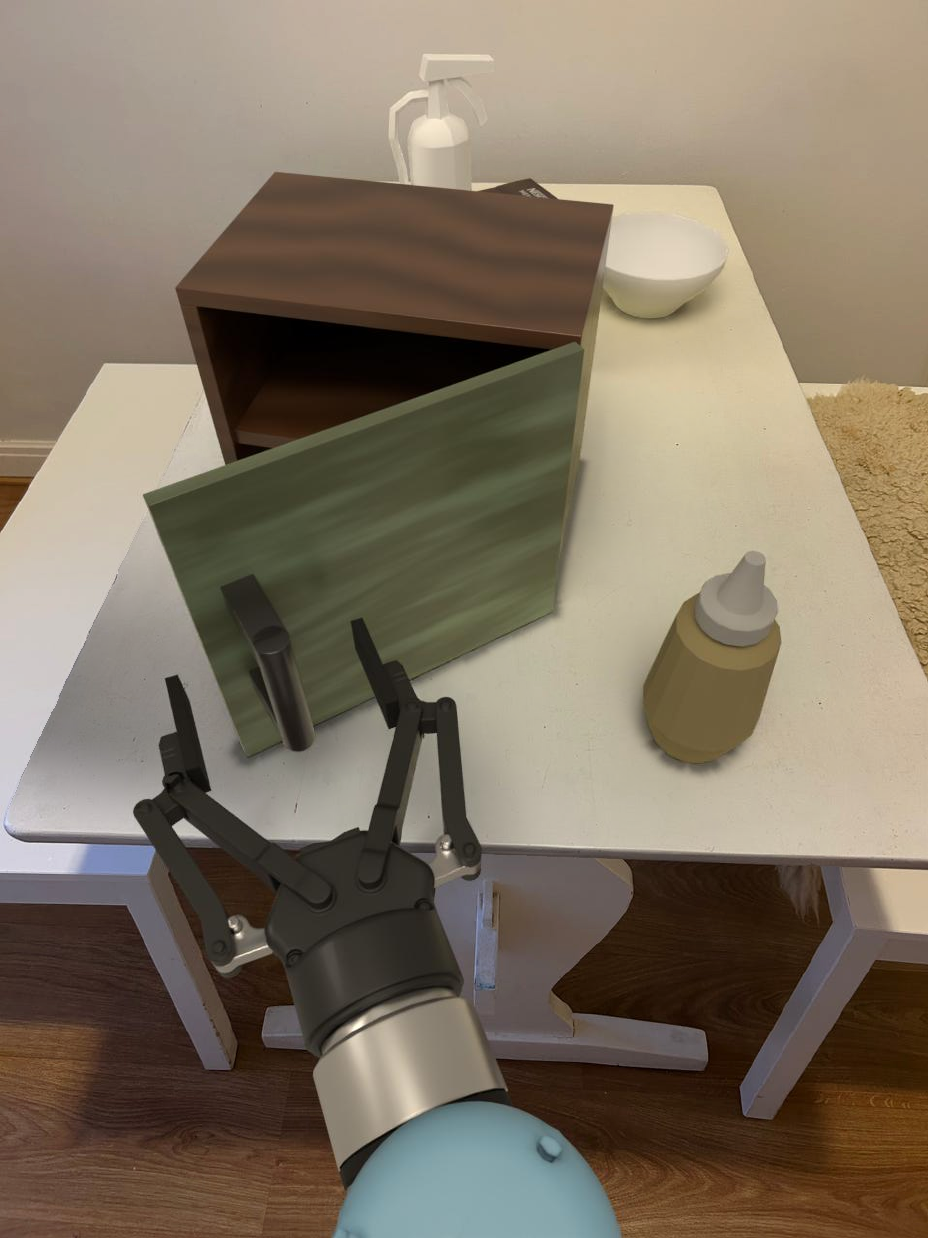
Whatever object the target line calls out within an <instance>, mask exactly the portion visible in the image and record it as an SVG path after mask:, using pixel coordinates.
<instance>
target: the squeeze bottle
mask: <svg viewBox="0 0 928 1238" xmlns="http://www.w3.org/2000/svg"><path fill="white" fill-rule="evenodd" d="M766 563H767V559H766V556H765V555H764V554H763V553H762V552H760V551H758V550H749V551H747V552H745V554H744V555H743V556H742V558H741V559H740V560H739V562H738V563H737V564H736V566H735V567H734V568H733V570H732V571H731V572H727V573H722V574H717V575H714V576H712V577H710V578H709V579H707V580H706V581H704V584H702V587H701V589H700V590H699V592H697V593H695V594H694V595H692V596H691V597H689V598H688V599H686V600H685V601H683V603H682V604H681V606H680V608H679V610H678V611H677V613H676V614H675V616H674V619H673V621H672V623H671V624H670V627H669V630H668V631H667V634H666V635H665V638H664V640H663V642H662V644H661V646H660V649H659V650H658V653H657V654H656V657H655V660H654V661H653V663H652V665H651V667H650V670H649V671H648V674H647V676H646V678H645V680H644V682H643V684H642V706H643V711H644V714H645V717H646V720H647V724H648V728H649V730H650V733H651V736H652V737H653V739H654V742H655V743H656V745H658V746H659V748H660V749H662V751H663V752H665V753H666V754H667V755H668V756H670V757H673V758H675V759H677V760H679V761H681V762H684V763H692V764H703V763H708V762H711V761H716V760H717V759H719V758H720V757H721V756H723V755H725V754H727V753H728V752H730V751H732V750H733V749H735V748H736V747H738V746H739V745H741V744H742V743H743V742H745V741H746V740H748V738H750V737H751V736H752V735H753V733H754V731H755V729H756V726H757V724H758V722H759V720H760V717H761V714H762V711H763V707H764V704H765V700H766V697H767V694H768V690H769V686H770V683H771V679H772V677H773V673H774V670H775V666H776V663H777V659H778V656H779V653H780V648H781V645H782V634H781V627H780V625H779V623H778V622H777V620H776V618H777V616H778V613H779V605H778V599H777V598H776V596H775V595H774V593H773V592H772V590H771V588H769V587H768V586H766V585H765V576H766Z"/></svg>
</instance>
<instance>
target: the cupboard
mask: <svg viewBox="0 0 928 1238" xmlns="http://www.w3.org/2000/svg"><path fill="white" fill-rule="evenodd" d="M479 191H480V190H472V191H469V190H459V189H448V188H438V187H428V186H417V185H411V184H409V185H407V184H400V183H396V182H386V181H375V180H364V179H355V178H343V177H334V176H323V175H314V174H313V175H312V174H301V173H294V172H293V173H292V172H284V171H283V172H281V171H274V172H273V173H272V175H270V177H269V178H268V179H267V180H266V181H265V183H263V185H262V186H261V187H260V189H258V191H257V192H256V193H255V194H254V195H253V197H252V198H251V199H250V200H249V201H248V202H247V204H245V206H244V207H243V208H242V209H241V211H239V212H238V214H237V215H236V216H235V217H234V218H233V220H232V221H231V222H230V223H229V224H228V225H227V226H226V228H224V230H223V231H222V233H221V234H219V236H218V237H217V238H216V239H215V241H214V242H213V243H212V244H211V245H210V246H209V247H208V249H207V250H206V251H205V252H204V254H202V255H201V256H200V258H199V259H198V260H197V261H196V262H195V264H194V265H193V266H192V267H191V268H190V269H189V270H188V272H187V273H186V274H185V275H184V277H182V279H181V280H180V281H179V282H178V284H177V285H176V286H175V287H174V289H175V292H176V296H177V299H178V303H179V307H180V311H181V313H182V317H183V321H184V324H185V329H186V332H187V335H188V338H189V342H190V346H191V350H192V353H193V357H194V359H195V363H196V367H197V371H198V374H199V377H200V380H201V385H202V388H203V391H204V395H205V399H206V402H207V406H208V409H209V413H210V415H211V416H210V417H211V421H212V424H213V427H214V432H215V434H216V437H217V441H218V445H219V448H220V452H221V455H222V458H223V462H224V465H227V464H230V463H233V462H236V461H239V460H241V459H244V458H247V457H250V456H253V455H256V454H258V453H261V452H264V451H267V450H270V449H273V448H275V447H278V446H281V445H284V444H287V443H290V442H292V441H295V440H298V439H301V438H304V437H306V436H309V435H312V434H315V433H318V432H321V431H323V430H326V429H329V428H332V427H335V426H338V425H340V424H343V423H346V422H349V421H352V420H355V419H357V418H360V417H363V416H366V415H369V414H372V413H374V412H377V411H380V410H383V409H386V408H389V407H391V406H394V405H397V404H400V403H403V402H406V401H408V400H411V399H414V398H417V397H420V396H423V395H425V394H428V393H431V392H434V391H437V390H440V389H442V388H445V387H448V386H451V385H454V384H456V383H459V382H462V381H465V380H468V379H471V378H473V377H476V376H479V375H482V374H485V373H488V372H490V371H493V370H496V369H499V368H502V367H505V366H507V365H510V364H513V363H516V362H519V361H522V360H524V359H527V358H530V357H533V356H536V355H539V354H541V353H544V352H547V351H550V350H553V349H556V348H558V347H561V346H564V345H567V344H570V343H573V342H576V343H577V344H579V345H580V346H581V347H582V348H584V358H583V366H582V375H581V383H580V391H579V399H578V407H577V415H576V423H575V432H574V440H573V448H572V456H571V464H570V472H569V480H568V489H567V497H566V505H565V513H564V521H563V529H562V537H561V546H560V554H559V560H560V559H561V553H562V549H563V544H564V539H565V536H566V535H565V534H566V531H567V524H568V520H569V516H570V512H571V511H570V510H571V505H572V500H573V497H574V496H573V495H574V491H575V486H576V480H577V476H578V472H579V467H580V461H581V453H582V447H583V440H584V432H585V425H586V424H585V423H586V416H587V408H588V401H589V393H590V386H591V379H592V371H593V363H594V356H595V349H596V342H597V341H596V340H597V335H598V334H597V333H598V327H599V318H600V311H601V303H602V298H603V297H602V296H603V290H604V288H603V282H604V274H605V267H606V259H607V252H608V244H609V237H610V229H611V221H612V216H613V213H614V204H612V203H604V202H603V203H601V202H593V201H592V202H591V201H581V200H571V199H563V198H561V199H560V198H558V199H552V198H541V197H531V196H521V195H510V194H500V193H490V192H479ZM559 562H560V561H559ZM559 562H558V564H559Z"/></svg>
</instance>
